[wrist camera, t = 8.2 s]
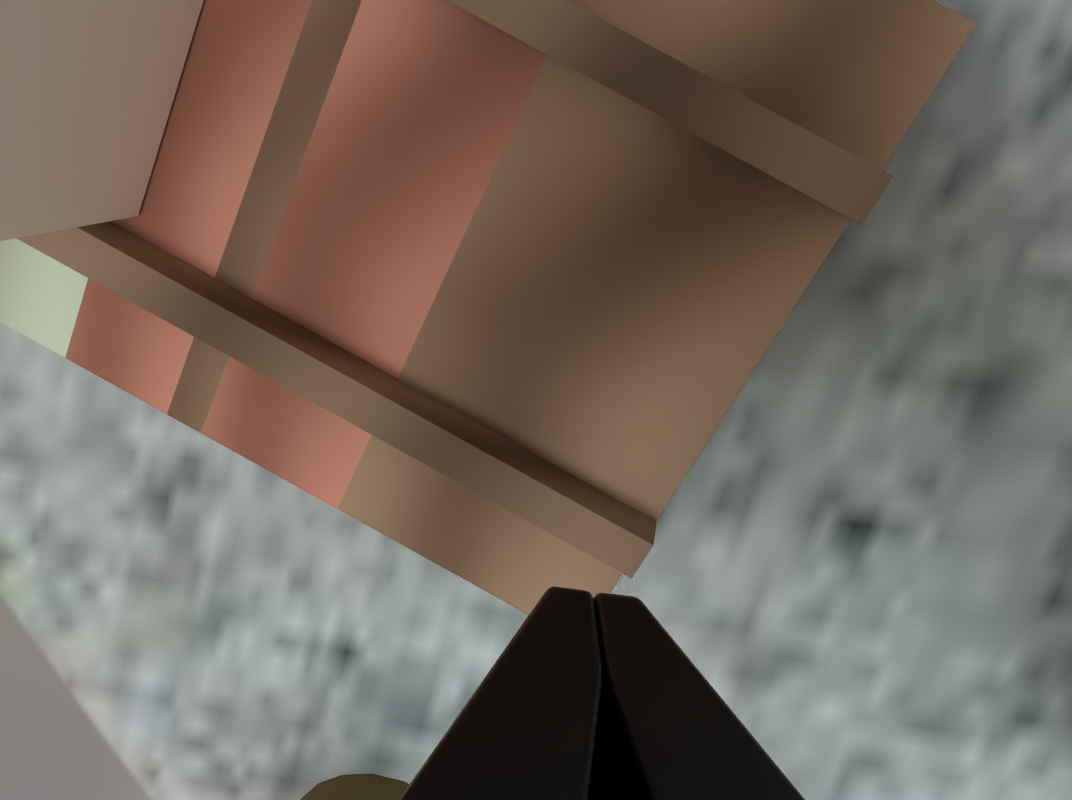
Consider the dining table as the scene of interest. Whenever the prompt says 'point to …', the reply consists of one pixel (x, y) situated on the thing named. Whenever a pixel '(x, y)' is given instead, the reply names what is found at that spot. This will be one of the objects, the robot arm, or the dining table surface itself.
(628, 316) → the board
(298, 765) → the dining table surface
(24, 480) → the dining table surface
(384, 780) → the olive bell shape
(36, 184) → the cream block
